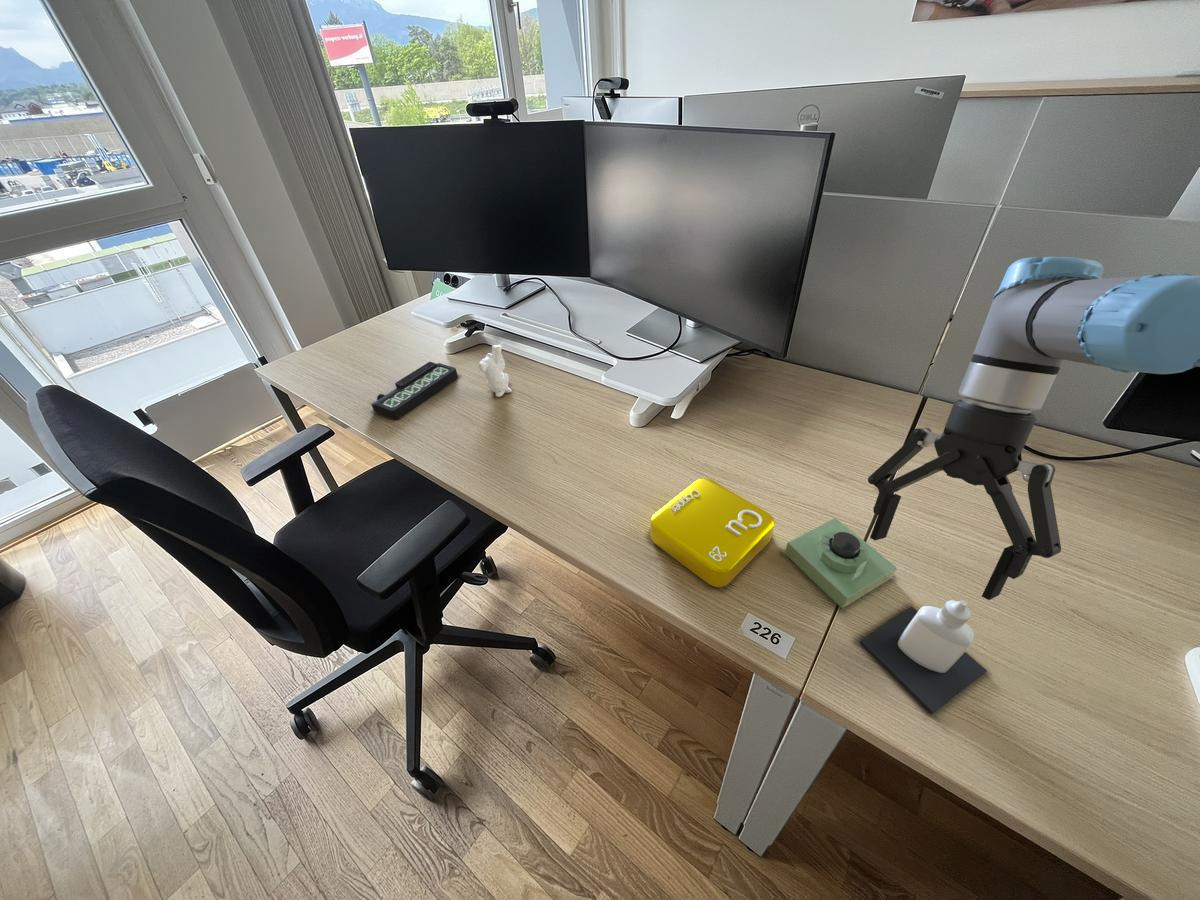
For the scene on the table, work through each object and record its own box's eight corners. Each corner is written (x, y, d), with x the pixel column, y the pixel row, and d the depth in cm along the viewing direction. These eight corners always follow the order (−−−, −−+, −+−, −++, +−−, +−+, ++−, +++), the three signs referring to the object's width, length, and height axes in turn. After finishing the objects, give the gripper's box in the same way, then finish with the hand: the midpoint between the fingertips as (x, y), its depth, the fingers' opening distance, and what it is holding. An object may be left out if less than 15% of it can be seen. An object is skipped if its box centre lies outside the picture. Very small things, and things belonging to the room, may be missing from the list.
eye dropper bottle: (925, 681, 56) (970, 631, 48) (890, 639, 60) (926, 587, 53) (954, 669, 57) (1003, 618, 49) (918, 629, 61) (957, 576, 53)
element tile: (701, 490, 84) (703, 471, 81) (775, 536, 75) (781, 516, 72) (645, 537, 77) (645, 518, 74) (719, 593, 68) (723, 574, 65)
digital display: (429, 358, 123) (456, 367, 119) (432, 369, 125) (459, 377, 121) (363, 399, 110) (392, 410, 106) (368, 410, 112) (396, 421, 108)
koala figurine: (504, 380, 118) (494, 337, 111) (522, 387, 115) (514, 344, 107) (479, 396, 113) (467, 352, 106) (498, 404, 110) (487, 360, 102)
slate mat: (984, 672, 57) (987, 670, 57) (931, 714, 54) (933, 712, 54) (910, 608, 64) (911, 606, 64) (859, 642, 61) (860, 640, 61)
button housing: (891, 578, 68) (901, 559, 65) (841, 608, 65) (851, 590, 62) (830, 528, 75) (838, 509, 73) (784, 553, 72) (790, 535, 69)
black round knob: (862, 552, 67) (866, 545, 66) (844, 563, 66) (848, 555, 65) (842, 535, 69) (845, 528, 68) (824, 545, 68) (827, 537, 67)
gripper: (1165, 439, 44) (1064, 618, 51) (902, 380, 64) (856, 515, 71) (1143, 444, 41) (1038, 636, 48) (871, 380, 61) (826, 522, 68)
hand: (928, 564), depth 59 cm, fingers open, 13 cm apart
